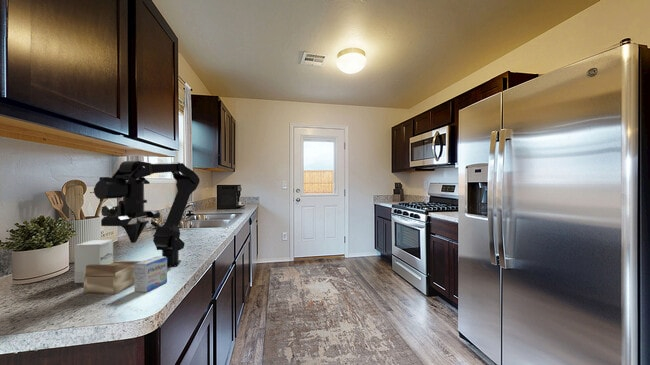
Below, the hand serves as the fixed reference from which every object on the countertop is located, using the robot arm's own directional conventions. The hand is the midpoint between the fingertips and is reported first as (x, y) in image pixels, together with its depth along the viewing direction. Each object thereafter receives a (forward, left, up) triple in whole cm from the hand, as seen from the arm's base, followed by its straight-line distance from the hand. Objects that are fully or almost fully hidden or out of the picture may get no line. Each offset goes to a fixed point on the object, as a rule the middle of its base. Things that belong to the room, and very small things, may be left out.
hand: (133, 242), depth 85 cm
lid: (+6, -3, -7) cm, 10 cm away
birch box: (+5, -3, -12) cm, 14 cm away
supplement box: (-5, -13, -13) cm, 19 cm away
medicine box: (+9, +8, -13) cm, 18 cm away
